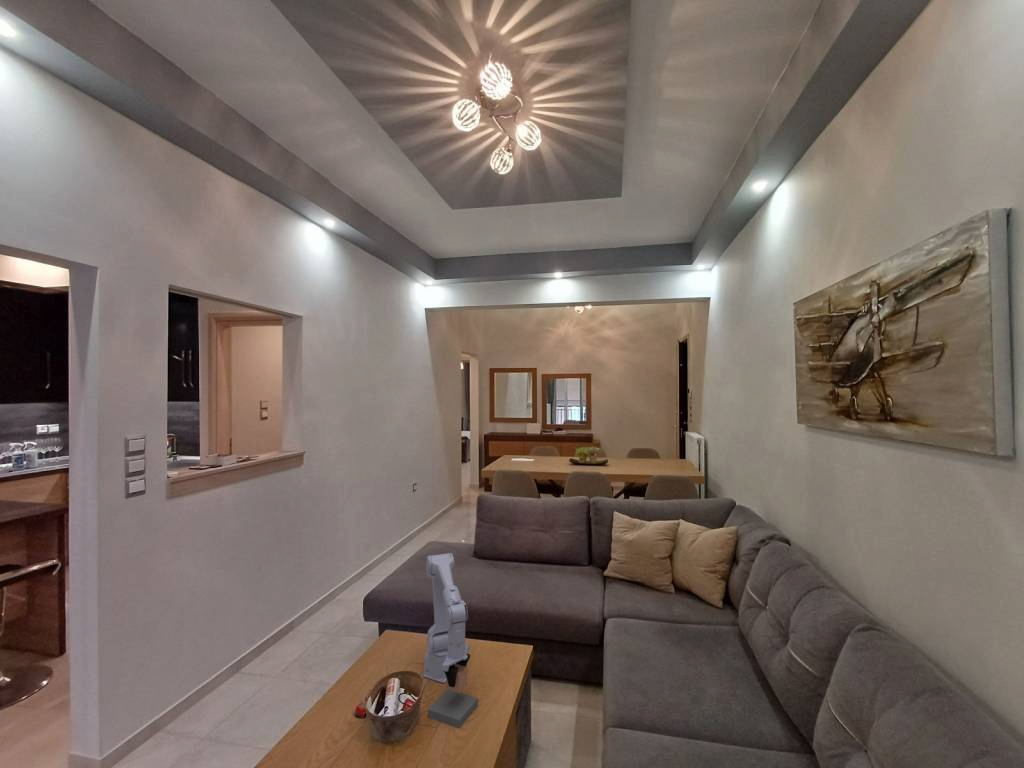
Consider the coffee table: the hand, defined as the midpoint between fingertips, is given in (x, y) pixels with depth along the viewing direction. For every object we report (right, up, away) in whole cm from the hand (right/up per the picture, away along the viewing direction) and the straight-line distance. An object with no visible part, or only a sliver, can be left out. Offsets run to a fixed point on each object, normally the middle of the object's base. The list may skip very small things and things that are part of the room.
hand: (456, 681), depth 161 cm
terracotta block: (0, -2, 0) cm, 2 cm away
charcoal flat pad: (-1, -10, -1) cm, 10 cm away
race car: (-28, -9, 0) cm, 29 cm away
